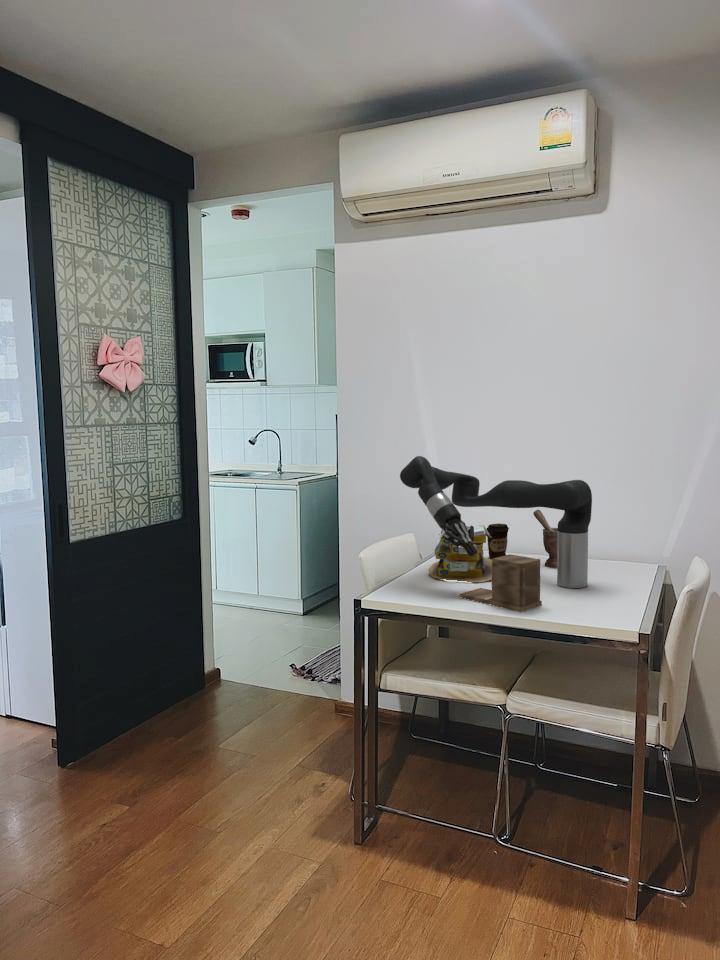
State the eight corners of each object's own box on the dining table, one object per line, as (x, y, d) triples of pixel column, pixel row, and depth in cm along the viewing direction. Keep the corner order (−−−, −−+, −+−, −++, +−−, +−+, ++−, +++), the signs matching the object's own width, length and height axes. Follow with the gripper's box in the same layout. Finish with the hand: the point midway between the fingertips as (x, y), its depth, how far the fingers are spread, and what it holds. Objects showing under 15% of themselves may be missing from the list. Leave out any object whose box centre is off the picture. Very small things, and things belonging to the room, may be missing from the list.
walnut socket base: (459, 597, 218) (459, 553, 217) (480, 591, 224) (480, 548, 223) (520, 612, 202) (520, 564, 200) (541, 605, 208) (541, 558, 207)
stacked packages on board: (493, 586, 231) (493, 534, 230) (419, 580, 241) (418, 530, 239) (509, 569, 254) (509, 522, 252) (440, 564, 264) (440, 519, 262)
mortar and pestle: (537, 568, 254) (537, 512, 252) (531, 563, 262) (531, 508, 260) (570, 568, 254) (570, 511, 252) (564, 562, 262) (564, 508, 260)
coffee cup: (513, 560, 268) (513, 525, 266) (491, 562, 266) (491, 527, 265) (503, 556, 276) (503, 522, 275) (482, 557, 274) (482, 523, 273)
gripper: (451, 515, 233) (481, 558, 225) (422, 520, 224) (452, 565, 216) (463, 500, 228) (495, 543, 220) (434, 505, 220) (466, 550, 211)
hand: (474, 554), depth 218 cm, fingers closed
